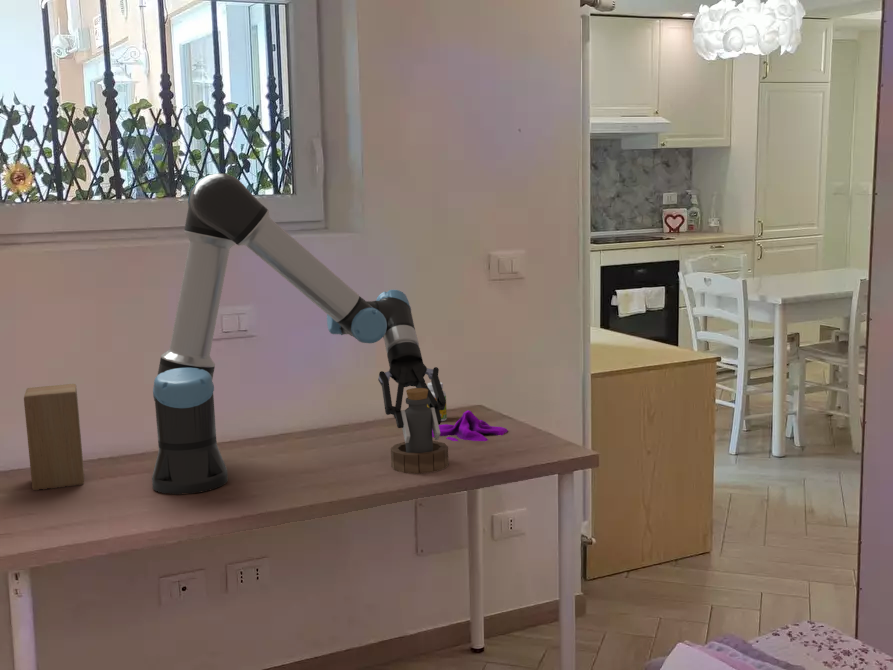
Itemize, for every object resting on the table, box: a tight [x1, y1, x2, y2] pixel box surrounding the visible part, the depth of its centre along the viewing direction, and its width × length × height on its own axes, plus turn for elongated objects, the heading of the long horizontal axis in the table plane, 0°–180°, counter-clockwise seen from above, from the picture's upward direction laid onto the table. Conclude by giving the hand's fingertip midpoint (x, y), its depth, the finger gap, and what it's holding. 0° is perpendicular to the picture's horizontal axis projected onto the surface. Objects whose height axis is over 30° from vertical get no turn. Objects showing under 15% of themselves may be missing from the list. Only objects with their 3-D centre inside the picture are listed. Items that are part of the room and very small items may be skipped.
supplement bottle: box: [426, 381, 448, 422], centre depth 250 cm, size 5×5×10 cm
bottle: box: [404, 387, 434, 453], centre depth 207 cm, size 6×6×15 cm
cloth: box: [432, 409, 509, 442], centre depth 235 cm, size 22×19×6 cm
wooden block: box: [23, 383, 85, 491], centre depth 203 cm, size 10×10×20 cm
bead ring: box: [390, 440, 449, 475], centre depth 208 cm, size 12×12×4 cm
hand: (422, 437), depth 204 cm, fingers closed on bottle, 6 cm apart
